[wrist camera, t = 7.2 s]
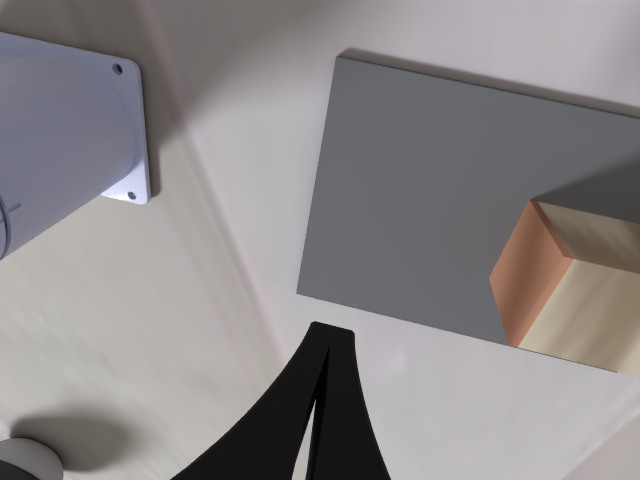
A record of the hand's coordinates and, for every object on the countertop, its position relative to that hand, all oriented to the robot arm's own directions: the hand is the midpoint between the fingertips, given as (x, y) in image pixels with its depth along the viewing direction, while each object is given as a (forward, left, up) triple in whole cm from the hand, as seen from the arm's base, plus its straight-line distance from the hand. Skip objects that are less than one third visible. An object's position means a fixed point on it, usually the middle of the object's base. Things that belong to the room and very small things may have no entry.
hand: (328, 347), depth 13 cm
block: (+8, 0, -8) cm, 11 cm away
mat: (+8, 0, -10) cm, 13 cm away
